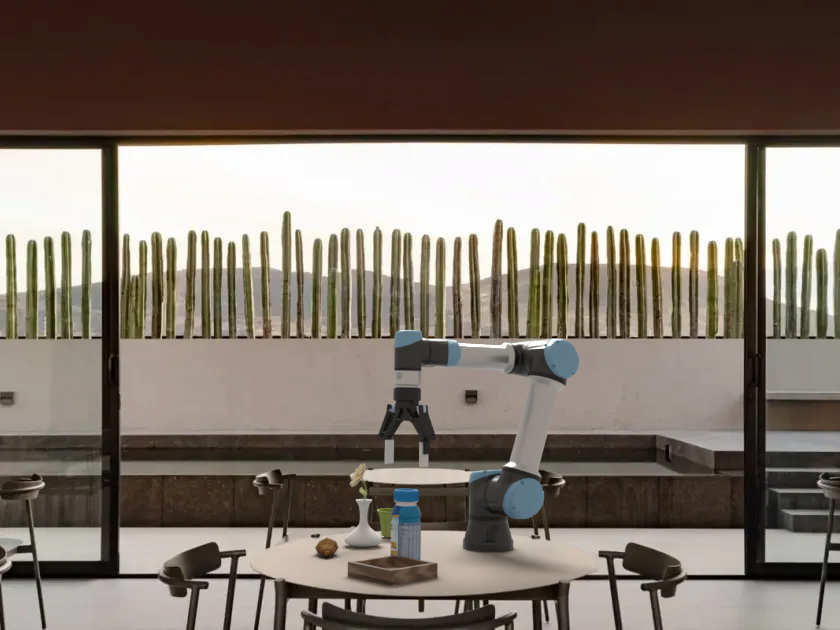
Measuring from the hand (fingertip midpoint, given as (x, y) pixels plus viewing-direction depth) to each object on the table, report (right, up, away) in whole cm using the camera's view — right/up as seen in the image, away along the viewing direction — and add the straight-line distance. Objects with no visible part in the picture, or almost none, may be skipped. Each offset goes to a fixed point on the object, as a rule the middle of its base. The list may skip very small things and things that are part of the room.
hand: (406, 465), depth 262 cm
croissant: (-23, -28, +12) cm, 38 cm away
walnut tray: (-3, -25, -19) cm, 31 cm away
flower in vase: (-13, -29, +27) cm, 42 cm away
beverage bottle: (0, -27, -2) cm, 27 cm away
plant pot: (-5, -30, +46) cm, 55 cm away
